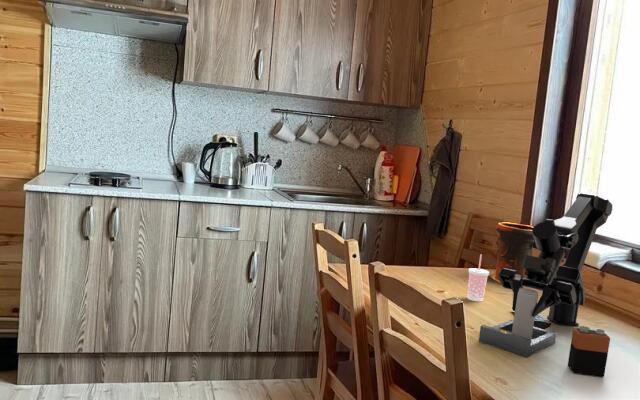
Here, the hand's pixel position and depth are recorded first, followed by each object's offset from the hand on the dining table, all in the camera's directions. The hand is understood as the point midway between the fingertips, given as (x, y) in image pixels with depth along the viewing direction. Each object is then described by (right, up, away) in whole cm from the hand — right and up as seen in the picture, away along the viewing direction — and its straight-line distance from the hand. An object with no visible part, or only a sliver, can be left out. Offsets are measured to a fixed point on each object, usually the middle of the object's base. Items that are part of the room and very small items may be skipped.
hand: (523, 312), depth 153 cm
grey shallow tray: (-2, -7, 0) cm, 8 cm away
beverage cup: (-2, -3, +38) cm, 38 cm away
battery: (+9, -10, -16) cm, 21 cm away
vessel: (+18, -1, +69) cm, 72 cm away
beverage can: (0, -7, +2) cm, 7 cm away
